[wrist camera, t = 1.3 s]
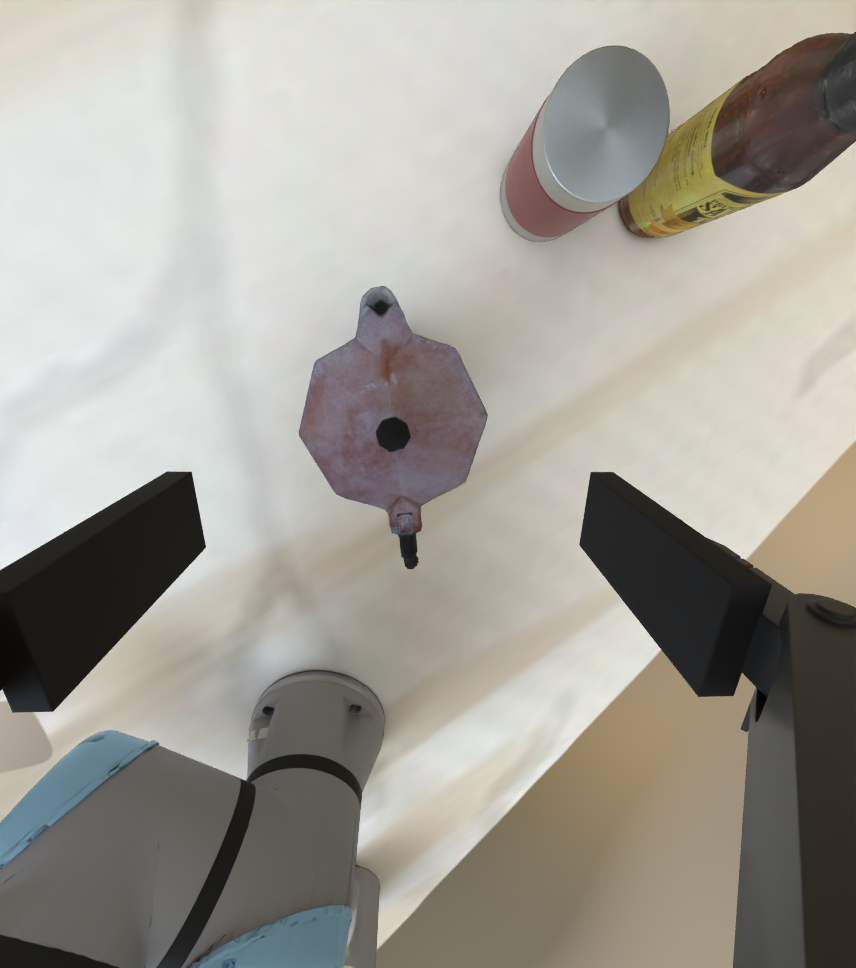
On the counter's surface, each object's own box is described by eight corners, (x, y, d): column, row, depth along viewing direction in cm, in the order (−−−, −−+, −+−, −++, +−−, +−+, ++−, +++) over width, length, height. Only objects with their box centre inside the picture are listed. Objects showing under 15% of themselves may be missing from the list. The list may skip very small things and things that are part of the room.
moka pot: (442, 296, 35) (482, 256, 16) (466, 470, 40) (518, 593, 21) (328, 317, 35) (237, 301, 16) (368, 487, 40) (334, 625, 21)
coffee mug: (364, 912, 64) (356, 1013, 54) (301, 898, 62) (282, 1000, 52) (400, 860, 60) (398, 958, 50) (334, 843, 58) (320, 942, 49)
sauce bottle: (628, 256, 34) (889, 167, 16) (605, 174, 32) (874, -41, 14) (706, 216, 34) (1077, 74, 15) (687, 129, 32) (1091, -161, 13)
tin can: (581, 244, 34) (656, 206, 24) (496, 241, 34) (535, 202, 23) (593, 139, 32) (684, 46, 21) (502, 136, 31) (549, 40, 21)
